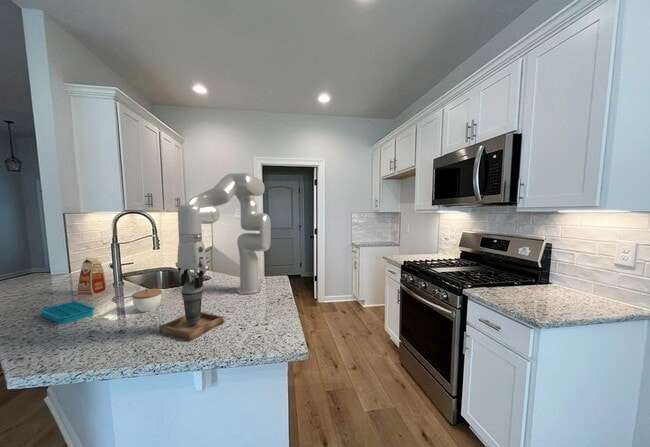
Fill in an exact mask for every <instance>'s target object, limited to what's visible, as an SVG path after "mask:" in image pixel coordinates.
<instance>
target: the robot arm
mask: <svg viewBox="0 0 650 447" xmlns="http://www.w3.org/2000/svg"><path fill="white" fill-rule="evenodd" d="M265 189H266V188H265V183H264V182H263V181H262V180H261V179H260V178H259V177H256V176H255V175H253V174H250V173H247V172H239V173H238V172H237V173H235V172H233V173H228V174H226V175H225V176H223V178H221V179H220V181H218V183H217V184H216V185H215V186H214V187H212V188H211V189H208V190H206V191H203V192H202V193H199V194H197V195H195V196H193V197H192V198H191V199H189V200H188V201H187V202H186V203H185V204H184V205H183V204H182V205H179V206H178V207H177V225H178V227H177V229H178V244H177V262H176V263H175V267H176V269H177V270H178V273H179V276H180V286H181V287H183V286H184V284H185V283H187V282H188V281H190V280H189V273H188V270H190V271H193V273H194V276H195V277H194V278H193V280H194V285H195V288H196V289H197V288H200V287H202V288H203V287H204V276H205V273H206V272H207V271H208V270H209V267H208V265H207V254H206V247H205V243H204V242H203V236H202V231H203V230H202V224H203V225H204V224H205V225H210V224H215V223H216V222H217V221H219V219H220V215H221V214H220V210H219V208H218V206H219V207H220V206H222V205H225V204H227V203H228V202H230V200H231V199H232V198H233V197H234V196H235V197H236V198H237V200H238V202H239V204H240V206H239V207H240V227H241V228H240V229H242V230H244V231H246V232H245V233H242V234H240V235H239V236H238V237H237V243H236V244H237V249H238V254H239V284H240V285H239V286H240V287H239V288H237V290H236V291H237V293H238V294H239V295H252V294H253V295H254V294H257V293H259V292H261V291H262V287H261V286H260V285H261V284H263V283H264V280H263V279H260V280H259V259H258V256H257V253H256V252H267V251H269V250H270V247H271V243H272V242H271V240H272V239H271V231H272V230H271V229H272V227H271V225H272V224H271V223H272V221H271V218H270V216H269V214H267V213H264V212H263V213H262V212H258V204H257V202H256V200H255V198H254V197H260V196H263V195H264V193H265V191H266V190H265ZM247 231H251V232H247ZM252 231H254V232H255V231H257V233H256V232H255V233H254V232H252ZM258 232H259V233H258Z"/></svg>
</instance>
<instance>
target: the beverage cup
mask: <svg viewBox="0 0 650 447" xmlns="http://www.w3.org/2000/svg"><path fill="white" fill-rule="evenodd" d="M188 274H189V280H190V281H188V282H187V283H185V284H184V286H182V288H181V293H180V294H181V296H182V300H183V308H184V316H186V321H187V324H195V323H198V322H199V321H200V316H201V312H202V299H203V297H202V296H203V293H204V292H203V291H204V289H203V287H200V288H197V289H196V288H195V285H194V279H193V280H192V276H191V270H188Z"/></svg>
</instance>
